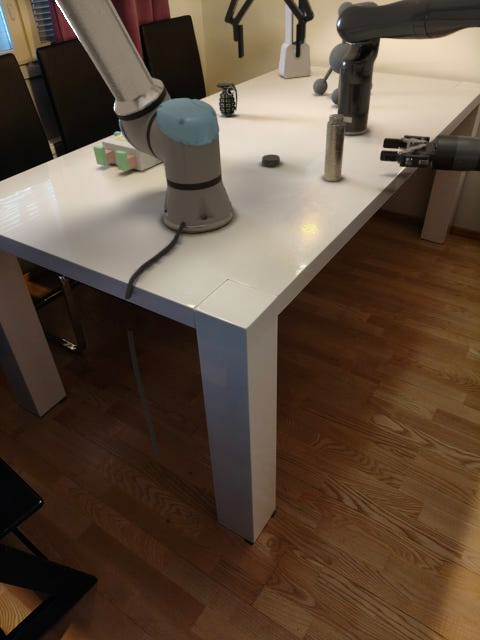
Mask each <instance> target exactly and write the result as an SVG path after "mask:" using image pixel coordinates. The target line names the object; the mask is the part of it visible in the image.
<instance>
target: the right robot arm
mask: <svg viewBox="0 0 480 640" xmlns="http://www.w3.org/2000/svg"><path fill="white" fill-rule="evenodd" d="M335 28H336V32H337V34H338V36H339V38H340V39H341V40H342V39H343V40H344V41H345V42H346V43H349V44H351V47H350V49H349V51H348V53H347V54H346V55H345V56H344V57H343V58H342V60H341V70H340V85H339V99H338V105H337V111H336V112H337V113H336V114H341V115H344V120H343V121H345V134H344V136H357V135H363V134H365V133H366V132H367V131H368V122H369V113H370V106H371V105H370V103H371V95H372V89H371V86H372V87H373V76H374V65H375V62H376V60H377V58H378V55H379V51H380V44H381V43H380V42H381V39H389V40H390V39H392V40H434V39H441V38H445V37H448V36H451V35H453V34H455V33H457V32H460V31H463V30H465V29H471V28H480V0H398V1H394V2H391V3H385V4H381V5H379V4H378V3H376V2H374V1H363V2H357V3H352V5H350V6H348V7H347V8H345V9H344V10H343V11H342V12H341V14H340V15H338V18H337V20H336V27H335ZM430 139H431V137H430V136H421V135H409V134H405V135H403V137H400V138H394V137H393V138H391V137H385V138H384V139H383V143H382V148H383V150H381V151H380V154H379V160H380V161H381V162H391V163H397V164H399V167H400V168H417V169H419V168H420V169H427V168H428V166H429V163H430V168H431V169H432V170H434V171H448V172H449V171H450V172H480V137H476V136H471V135H470V136H469V135H454V134H453V135H450V134H438V135H437V136H436V137H435V142H432V141H430ZM384 149H387V150H384ZM388 149H389V150H388ZM391 149H392V150H391ZM398 150H400V151H398Z"/></svg>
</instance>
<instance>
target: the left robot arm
mask: <svg viewBox="0 0 480 640" xmlns="http://www.w3.org/2000/svg"><path fill="white" fill-rule="evenodd" d="M239 1H240V0H230V2H229V4H228V8H227V11H226V14H225V17H224V22H225V23H226V24H229V25H231V26H232V32H233V33H232V37H233V41H234V42H237V54H238V59H242V58H244V56H245V43H244V42H245V41H244V24H240V23H241V21H242V20H243V18H244V17H245V15H246V13H248V11H249V10H250V8H251V6H252V4H254V1H255V0H245V1H244V2H243V4H242V5H241V7H240V9H239V11H238V12H237V14H236V15H235V12H236V9H237V7H238V5H239ZM283 1H284V3H285V5H286V4H287V6H288V7H289V8H290V10H291V11H292V13H293V16H294V17H295V18H296V19H297V24H296V26H295V41H296V57H300V49H301V40H304V39H305V37H306V38H307V23H309V22H311V21H313V20H314V19H315V13H314V11H313V9H312V6H311V2H310V1H309V0H301V3H302V5H303V8H304V10H305V13H306V16H304V15H303V13H302V12H301V10H300V9H299V8H298V5H297V3H296V1H295V0H294V1H293V0H283ZM55 2H56V4H57V6H58V7H59V8H60V10H61V12H62V13H63V15H64V17H65V19H66V20H67V22H68V24H69V25H70V27H71V28H72V30H73V32H74V33H75V35H76V36H77V38H78V40H79V41H80V43H81V45H82V47H83V48H84V50H85V51H86V53H87V55H88V56H89V58H90V59H91V61H92V63H93V65H94V66H95V68H96V69H97V71H98V73H99V74H100V76H101V77H102V79H103V81H104V82H105V84H106V86H107V87H108V89H109V91H110V93H111V94H112V96H113V97H114V99H115V100H114V104H113V111H114V113H115V115H116V116H117V118H118V125H119V129H120V132H121V134H123V136H124V138H125V139H126V140H127V141H128V142H129V143H130V144H131V145H132V146H133V147H134V148H135V149H137V150H139V151H141V152H143V153H146V154H148V155H150V156H152V157H154V158H157V159H159V160H161V161H162V163H163V168H164V174H165V180H166V190H165V191H166V192H165V196H164V203H163V207H162V218H163V222H164V224H165V226H167V227H168V228H169V229H171V230H173V231H176V233H175V234H174V236H173V238H172V240H171V241H170V243H168V245H166V246H165V247H164V248H163V249H161V250H160V251H159V252H158V253H157V254H155V255H154V256H152V257H151V258H149V259H148V260H147V261H145V262H144V263H142V264H141V265H140V266H139V267H138V268H137V269H136V270H135V272H134V273H133V274H132V275H131V276H130V278H129V279H128V282H127V285H126V291H125V296H124V300H129V299H131V296H132V290H133V285H134V283H135V280H136V279H137V278H138V277H139V276H140V274H142V272H143V271H144V270H145V269H146V268H148V267H149V266H151V265H152V264H153V263H155V262H156V261H158V260H159V259H160V258H162V257H163V256H164V255H165V254H166V253H167V252H169V251H170V250H171V249H172V248H173V247H174V246H175V245H176V243H177V242H178V240H179V238H180V235H181V234H182V233H190V234H191V233H192V234H193V233H194V234H195V233H196V234H197V233H205V232H206V233H207V232H210V231H215V230H216V229H220V228H222V227H224V226H226V225H227V224H228V223H230V221H231V220H232V218H233V216H234V212H233V211H234V210H233V205H232V201H231V200H230V197H229V195H228V192H227V190H226V187H225V184H224V182H223V175H222V174H223V173H222V161H221V159H222V158H221V147H220V146H221V145H220V126H219V120H218V115H217V111H216V109H215V108H214V107H213V106H212V105H211V104H210V103H208V102H206V101H204V100H201V99H197V98H192V99H190V98H189V97H181V98H179V97H178V98H171V95H170V94H169V92H168V90H167V88H166V86H165V85H164V83H163V81H162V80H161V79H158V78H155V77H152V76H151V74H150V72H149V70H148V68H147V66H146V65H145V62H144V61H143V59H142V57H141V55H140V53H139V52H138V50H137V47H136V46H135V43H134V42H133V40H132V37H131V36H130V34H129V32H128V31H127V29H126V26H125V25H124V23H123V21H122V18H121V16H119V14H118V11H117V9H116V8H115V5H114V4H113V2H112V0H55ZM234 15H235V17H234ZM298 21H299V22H300V23H298ZM126 331H127V338H128V339H127V340H128V346H129V351H130V357H131V362H132V367H133V371H134V372H133V373H134V376H135V377H134V378H135V380H136V384H137V388H138V392H139V397H140V400H141V404H142V407H143V408H142V409H143V412H144V415H145V418H146V422H147V427H148V430H149V434H150V438H151V441H152V445H153V450H154V454H155V457H156V458H159V457H160V455H161V454H160V451H159V446H158V441H157V437H156V434H155V430H154V426H153V425H154V424H153V422H152V418H151V415H150V414H151V413H150V410H149V406H148V403H147V399H146V395H145V391H144V390H145V389H144V386H143V383H142V377H141V373H140V370H139V369H140V368H139V365H138V359H137V354H136V348H135V341H134V334H133V333H134V332H133V331H131V330H126Z"/></svg>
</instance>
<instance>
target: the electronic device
mask: <svg viewBox="0 0 480 640" xmlns="http://www.w3.org/2000/svg"><path fill="white" fill-rule="evenodd" d="M293 1H294V2H295V0H293ZM297 4H298V5H297V6H298V8H299V9H300V10H301V12H302V13H303V15H304V16H306V13H305V10H304V8H303V5H302V3H301V0H298V3H297ZM284 16H285V18H284V19H285V25H284V26H285V29H284V32H285V36H284V37H285V38H284V42H283V43H282V45H281V46H280V55H279V63H278V73H279V75H280V76H281V77H283V78H285V79H292V78H301V77H309V75H310V74H311V72H312V71H311V70H312V69H311V49H310V45H309V44H308V43H307V36H306V37H305V39H304V40H301V49H300V57H296V40H294V14H293V13H292V11H291V10H290V8H289V7H288V6H287V4H286V3H285V15H284ZM298 23H300V22H299V21H298V20H297V24H298Z"/></svg>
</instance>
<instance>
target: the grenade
mask: <svg viewBox="0 0 480 640" xmlns="http://www.w3.org/2000/svg"><path fill="white" fill-rule="evenodd" d="M215 87H217V88H219V89H221V93H219V97H218V101H219V102H218V106H219V108H218V109H219V112H220V114H221V115H222V116H224V117H231V116H233V115H234V113H235V112H236V111H237V108H238V89H237V87H236V85H235V84H234V83H233V82H218V83H217V84H216V86H215ZM232 91H233V92H232ZM234 94H235V96H234Z"/></svg>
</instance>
